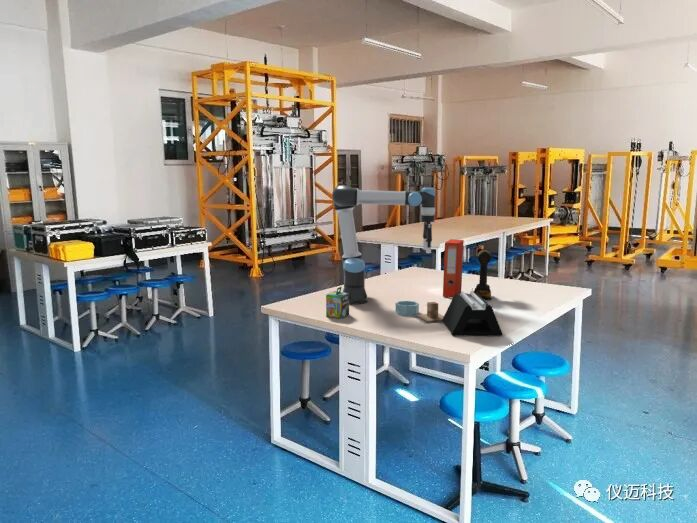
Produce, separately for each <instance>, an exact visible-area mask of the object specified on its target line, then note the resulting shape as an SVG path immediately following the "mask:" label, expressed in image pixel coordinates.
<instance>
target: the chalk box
mask: <svg viewBox="0 0 697 523" xmlns="http://www.w3.org/2000/svg"><path fill="white" fill-rule="evenodd" d="M336 288H337V289H336V290H333V291H330V292H329V293H327V294H326V295H325V305H326V306H325V312H326V314H325V317H329V318H335V319H336V318H338V319H341V318H342V319H343V318H345V317H347V316H350V304H349V293H346V292H343V291H342V288H343V287H342V286H339V287H336Z"/></svg>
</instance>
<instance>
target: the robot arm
mask: <svg viewBox="0 0 697 523" xmlns="http://www.w3.org/2000/svg"><path fill="white" fill-rule="evenodd" d="M332 190H333V191H332V193H331V198H332V202H333V210H334V211H335V212H336V213H337V218H338V224H339V230H340V236H341V238H340V239H341V244H342V249H343V250H342V251H343V255H342V256H341V261H342V267H343V268H342V269H343V290H342V292H346V293H349V305H350V304H351V305H359V304H365V303H368V302H369V300H368V299H369V298H368V294H367V291H366V285H365V283H366V280H365V278H366V275H365V274H366V271H365V270H366V264H365V260H363V254H362V253H361V252H360V251H359V247H358V246H359V245H358V240H357V232H356V226H355V219H354V212H353V211H354V209H355V207H356V206H357V207H358V206H359V205H382V206H383V205H384V206H387V205H388V206H411V207H418V206H419V205H421V216H420V217H421V220H420V221H421V222H423V233H422V238H423V240H422V241H423V242H422V250H423V251H425V253H426V254H432V241H433V234H432V233H433V232H432V231H433V228H432V226H433V224H432V223H433V222H435V220H436V218H435V214H436V213H435V212H436V210H437V209H436V208H435V207H436V188H434V187H422V189H421V190H419V191H418V190H403V191H400V190H399V191H398V190H373V189H372V190H368V189H366V190H364V189H359V188H358V187H349V186H348V185H346V184H340V185H337V186H335V187H334V189H332Z"/></svg>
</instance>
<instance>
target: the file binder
mask: <svg viewBox="0 0 697 523" xmlns="http://www.w3.org/2000/svg"><path fill="white" fill-rule="evenodd" d="M464 241H465V240H464V239H452V238H451V239H449V240H447V241H446V242H444V257H443V260H444V261H443V277H442V278H443V282H442V283H443V284H442V288H443V289H442V297H443V296H444V297H443V298H448V297H454V295H455V294H459V293H460V292H461V291H462V285H463V284H462V283H463V282H462V280H463V266H464V265H463V263H464V261H463V260H464ZM460 294H461V293H460ZM460 294H459V295H460Z"/></svg>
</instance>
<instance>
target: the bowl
mask: <svg viewBox="0 0 697 523" xmlns="http://www.w3.org/2000/svg"><path fill="white" fill-rule="evenodd" d="M419 310H420V303H419V302H416V301H414V300H400V301H397V302H395V313H396V314H397V315H400V316H416V315H419V312H420V311H419Z"/></svg>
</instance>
